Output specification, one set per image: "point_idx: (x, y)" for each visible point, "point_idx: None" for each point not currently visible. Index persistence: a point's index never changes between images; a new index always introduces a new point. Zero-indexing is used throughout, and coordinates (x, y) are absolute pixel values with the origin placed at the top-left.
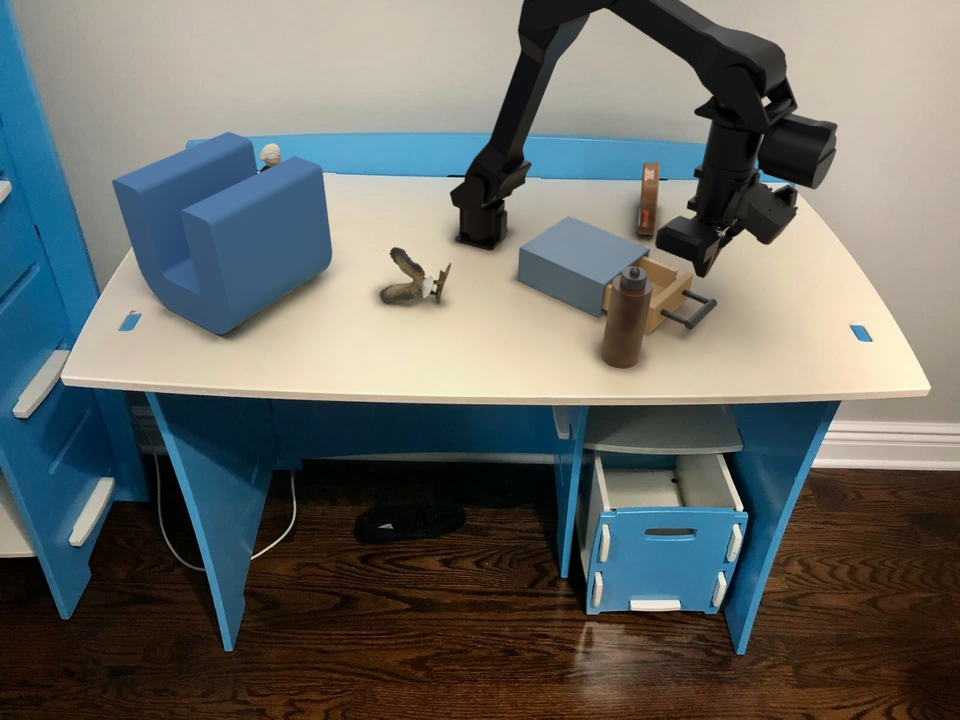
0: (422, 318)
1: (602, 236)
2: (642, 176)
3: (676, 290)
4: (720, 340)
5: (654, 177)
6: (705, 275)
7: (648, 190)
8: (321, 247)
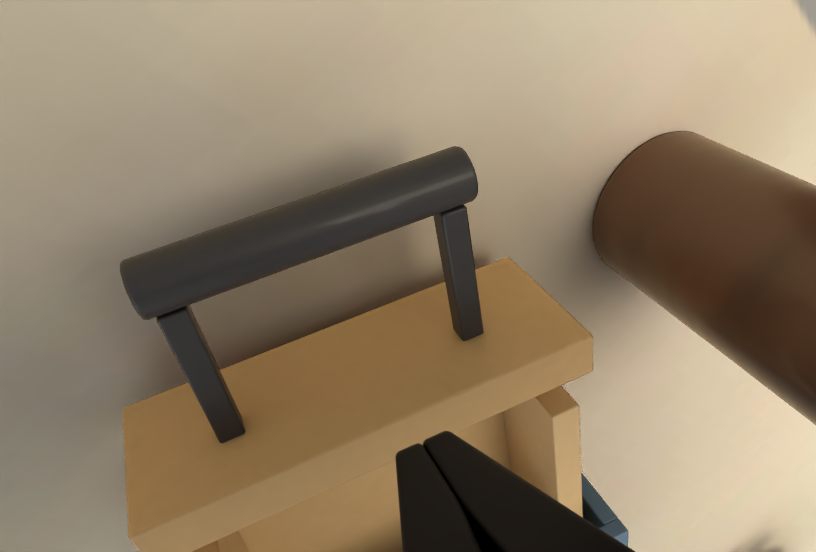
0: (791, 514)
1: None
2: None
3: (354, 431)
4: (204, 41)
5: None
6: (451, 447)
7: None
8: None
